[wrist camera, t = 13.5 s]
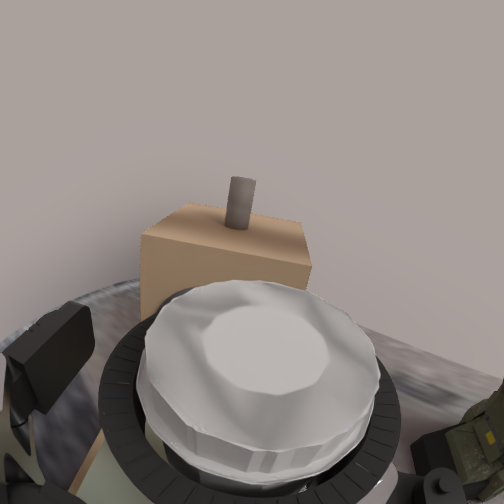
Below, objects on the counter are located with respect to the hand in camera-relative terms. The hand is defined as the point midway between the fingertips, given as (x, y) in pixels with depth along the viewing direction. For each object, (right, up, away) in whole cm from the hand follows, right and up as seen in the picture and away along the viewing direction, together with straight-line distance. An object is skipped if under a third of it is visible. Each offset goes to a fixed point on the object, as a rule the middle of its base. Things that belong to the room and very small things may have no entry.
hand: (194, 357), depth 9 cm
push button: (0, -7, 0) cm, 7 cm away
